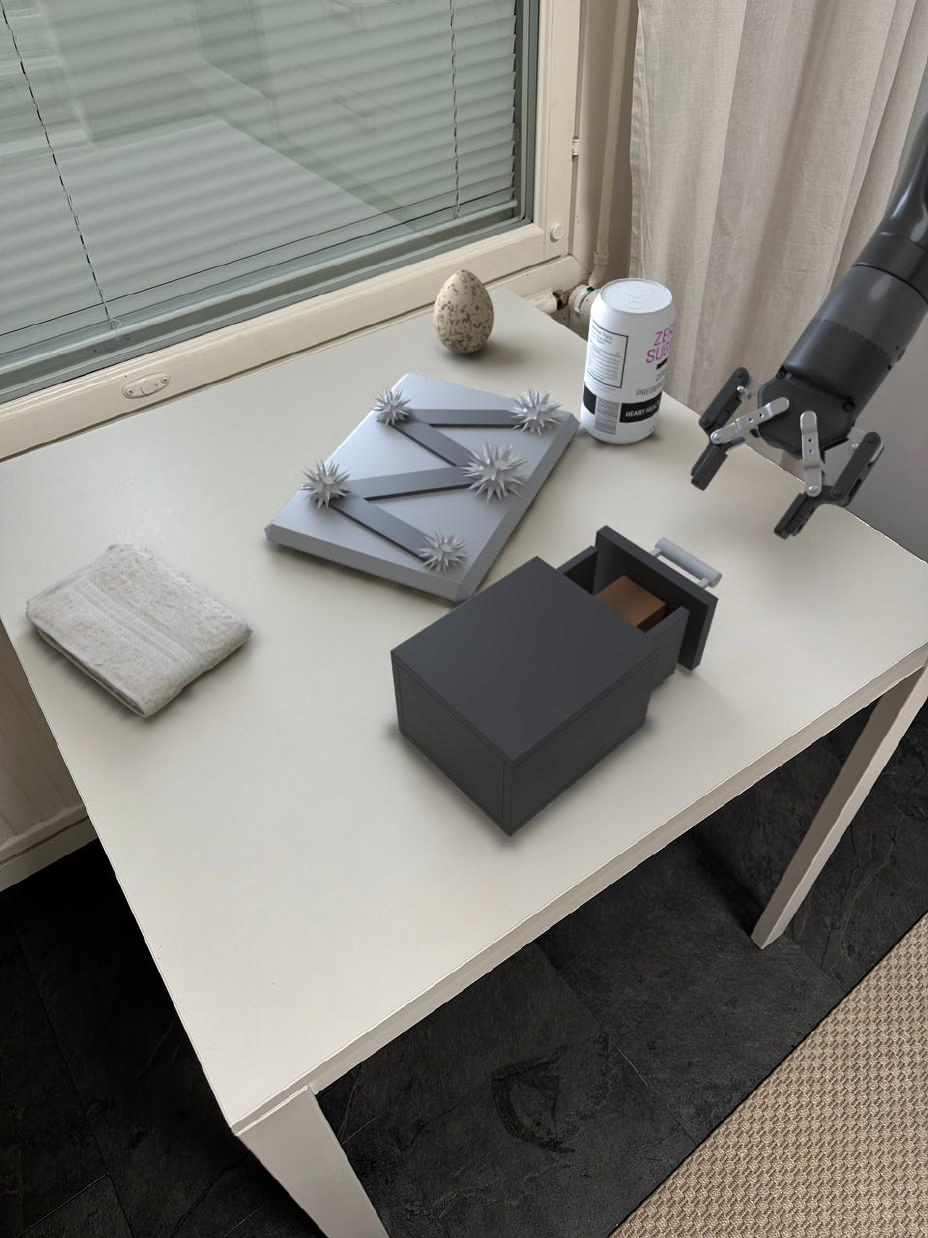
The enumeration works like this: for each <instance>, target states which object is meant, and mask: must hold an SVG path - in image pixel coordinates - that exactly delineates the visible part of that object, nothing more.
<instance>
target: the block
mask: <svg viewBox="0 0 928 1238" xmlns="http://www.w3.org/2000/svg"><path fill="white" fill-rule="evenodd" d="M594 597H595V598H597V599H598V600H600V601H601V602H602V603H604V604H605V605H607V606H608V607H609V608H611V609H612V610H614V611H615V612H616V613H618V614H619V615H621V616H622V617H623V618H625V619H626V620H628V621H629V622H630V623H632V624H633V625H635V626H636V627H637V628H639V629H640V630H641V631H643V632H644V633H647V632H648V631H650V630H651V629H652V628H653V627H655V626H656V625H657V624H659V623H660V622H661V621H662V619H663V615H664V610H665V606H666V603H664V602H663V601H661V600H660V599H658V598H657V597H656V596H654V595H653V594H651V593H650V592H648V591H647V590H645V589H644V588H642V587H641V586H640V585H638V584H637V583H635V582H634V581H632V580H631V579H629V578H628V577H626V576H625V575H623V576H622V577H621V578H619V579H618V580H616V581H615V582H614V583H612V584H611V585H609V586H608V587H606V588H605V589H604V590H602V591H601V592H599V593H598V594H596V595H595V596H594Z"/></svg>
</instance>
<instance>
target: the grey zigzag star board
mask: <svg viewBox="0 0 928 1238" xmlns="http://www.w3.org/2000/svg"><path fill="white" fill-rule="evenodd" d="M523 391H524V397H525V398H524V397H523V396H522V395H521V394H518V396H519V398H520V399H519V398H518V397H509V396H505V395H501V394H497V393H493V392H489V391H485V390H481V389H477V388H473V387H469V386H466V385H461V384H458V383H453V382H448V381H445V380H441V379H437V378H433V377H429V376H424V375H421V374H417V373H413V372H408V373H406V374H405V375H404V376H402V377H401V378H400V379H399V380H398V381H397V382H396V383H395V384H394V385H393V387H392V388H391V389H390V388H389V386H387V389H386V388H384V390H383V394H384V396H383V395H382V394H380V393H379V392H377V394H376V396H377V397H376V396H374V395H372V396H373V398H374V399H375V400H376V401H377V402H374V403H375V404H371V406H372V407H373V408H371V410H370V412H369V413H367V415H366V416H365V417H364V418H363V420H362V421H361V422H360V423H359V424H358V425H357V426H356V427H355V428H354V429H353V430H352V432H351V433H349V435H348V436H347V437H346V438H345V439H344V440H343V441H342V442H341V443H340V444H339V446H338V447H337V448H336V449H335V450H334V451H333V452H332V454H330V455H329V457H328V458H327V459H326V460H325V461H324V462H323V460H322V458H320V464H321V466H320V465H319V464H318V461H317V460H315V463H316V464H315V465H316V468H317V469H316V471H315V472H314V471H313V470H311V469H309V468H308V467H307V466H305V468H306V469H307V471H308V472H309V473H310V474H309V473H306V472H305V471H303V470H301V472H302V473H303V474H304V476H306V479H307V481H297V483H299V484H302V485H300V487H301V488H298V491H297V492H296V493H295V494H294V495H293V496H292V497H291V499H289V501H288V502H287V503H286V504H285V505H284V506H283V507H282V508H281V509H280V510H279V512H278V513H277V514H276V515H275V516H274V517H273V518H272V519H271V520H270V521H269V522H268V523H267V525H266V526H265V527H263V530H264V533H265V536H266V538H267V540H268V541H269V542H273V543H276V544H279V545H282V546H285V547H288V548H291V549H295V550H297V551H300V552H304V553H307V554H309V555H312V556H316V557H318V558H322V559H325V560H327V561H330V562H334V563H337V564H341V565H343V566H346V567H350V568H351V569H355V570H359V571H362V572H364V573H367V574H370V575H373V576H377V577H379V578H383V579H386V580H388V581H392V582H395V583H397V584H401V585H404V586H406V587H410V588H412V589H413V588H414V589H417V590H419V591H422V592H425V593H428V594H432V595H434V596H438V597H440V598H444V599H447V600H450V601H453V602H459V603H461V602H464V601H465V600H466V601H467V600H469V599H470V598H472V597H473V596H474V593H476V590H477V589H478V587H479V586H480V584H481V582H482V581H483V579H484V578H485V576H486V575H487V574H488V572H489V570H490V568H491V567H492V565H493V564H494V562H495V560H496V559H497V557H498V556H499V554H500V553H501V551H502V549H503V548H504V546H505V544H506V543H507V542H508V540H509V538H510V537H511V535H512V533H513V532H514V530H515V529H516V527H517V526H518V524H519V522H520V521H521V519H522V518H523V516H524V515H525V513H526V511H527V510H528V508H529V507H530V505H531V503H532V501H533V500H534V499H535V497H536V495H537V494H538V492H539V491H540V489H541V487H542V486H543V484H544V483H545V481H546V480H547V478H548V476H550V473H551V472H552V470H553V469H554V467H555V465H556V464H557V462H558V461H559V459H560V457H561V456H562V454H563V453H564V451H565V449H566V448H567V446H568V445H569V444H570V441H572V438H573V437H574V435H575V434H576V432H577V430H578V429H579V428H580V426H581V422H580V421H579V420H578V419H577V417H576V416H575V415H574V414H573V413H572V412H571V411H566V410H561V409H559V408H560V407H562V406H563V405H564V403H562V404H560V402H558V400H559V399H560V397H558V398H556V399H554V400H552V399H549V398H550V395H551V392H552V389H550V390H549V391H548V392H547V393H546V394H545V396H544V387H542V388H541V390H540V392H539V390H537V391H536V394H535V391H534V388H533V386H532V385H531V389H530V388H528V394H529V395H528V394H527V392H526V391H525V390H523ZM551 400H552V401H551ZM556 402H558V403H556Z"/></svg>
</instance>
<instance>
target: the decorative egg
mask: <svg viewBox="0 0 928 1238" xmlns="http://www.w3.org/2000/svg"><path fill="white" fill-rule="evenodd" d="M491 298H492V297H491V296H490V293H489V291H488V290H487V288H486V286H485V285H484V284H483V282H482V281H481V279H479V278H478V277H477V275H475V274H474V273H473V272H472V271H470V270H468V269H460V270H457V271H456V272H454V273H453V274H452V275H451V276H449V278H448V279H447V280H446V281H445V282H444V284H443V285H442V287H441V289H440V290H439V292H438V294H437V297H436V300H435V302H434V307H433V316H432V317H433V318H432V319H433V326H434V330H435V333H436V335H437V338H438V339H439V341H440V342H441V343H442V344H443V346H444V347H445V348H447V349H448V350H450V351H451V352H453V353H456V354H462V355H465V354H471V353H474V352H476V351H477V350H479V349H481V348H482V347H483V346H484V345H485V344H486V343H487V342H488V340H489V339H490V336H491V334H492V331H493V327H494V323H495V311H494V305H493V301H492V299H491Z"/></svg>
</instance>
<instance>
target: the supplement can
mask: <svg viewBox="0 0 928 1238" xmlns="http://www.w3.org/2000/svg"><path fill="white" fill-rule="evenodd" d="M590 307H591V308H590V316H589V317H590V318H589V327H588V337H587V345H586V355H585V357H586V358H585V368H584V378H583V386H582V398H581V407H580V421H581V422H580V423H581V425H582V426H583V428H584V429H585V430H586V431H587V432H588V433H589V434H590V435H591V436H593V437H594V438H596V439H597V440H599V441H601V442H605V443H609V444H613V445H614V444H615V445H627V444H634V443H637V442H639V441H641V440H643V439H645V438H646V437H649V436H650V435H651V434H652V433H653V432H654V431H655V430H656V427H657V423H658V420H659V413H660V409H661V408H660V407H661V402H662V396H663V390H664V385H665V380H666V379H665V378H666V374H667V373H666V372H667V367H668V361H669V356H670V350H671V344H672V339H673V335H674V334H673V333H674V328H675V322H676V316H677V311H676V308H675V305H674V302H673V295H672V293H671V291H670V290H669V289H668V288H667V287H666V286H665V285H663V284H662V283H658V282H656V281H654V280H650V279H646V278H637V277H634V278H633V277H628V278H618V279H614V280H612V281H609V282H607V283H606V284H604V285H603V286H602V287H601V288H600V291H599V293H598V294H597V296H596V297H595V299H594V301H593V303H592V304H591V306H590Z"/></svg>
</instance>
